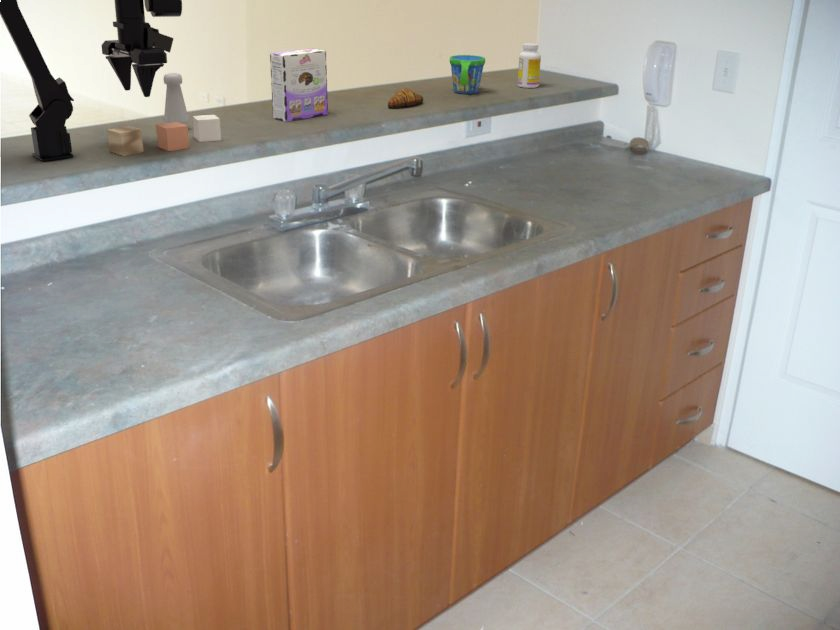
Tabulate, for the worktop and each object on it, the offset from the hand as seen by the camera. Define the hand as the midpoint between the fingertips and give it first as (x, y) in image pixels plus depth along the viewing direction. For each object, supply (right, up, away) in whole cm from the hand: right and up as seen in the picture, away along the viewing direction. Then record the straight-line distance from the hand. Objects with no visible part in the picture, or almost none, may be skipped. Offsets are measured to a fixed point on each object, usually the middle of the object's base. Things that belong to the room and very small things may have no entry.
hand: (137, 93), depth 189 cm
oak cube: (-3, -12, +1) cm, 13 cm away
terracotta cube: (+6, -10, +6) cm, 14 cm away
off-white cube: (+12, -7, +14) cm, 20 cm away
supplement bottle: (+94, +24, +86) cm, 130 cm away
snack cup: (+74, +19, +75) cm, 108 cm away
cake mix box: (+30, +3, +38) cm, 49 cm away
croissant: (+57, +10, +55) cm, 80 cm away
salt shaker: (+2, -3, +22) cm, 23 cm away
